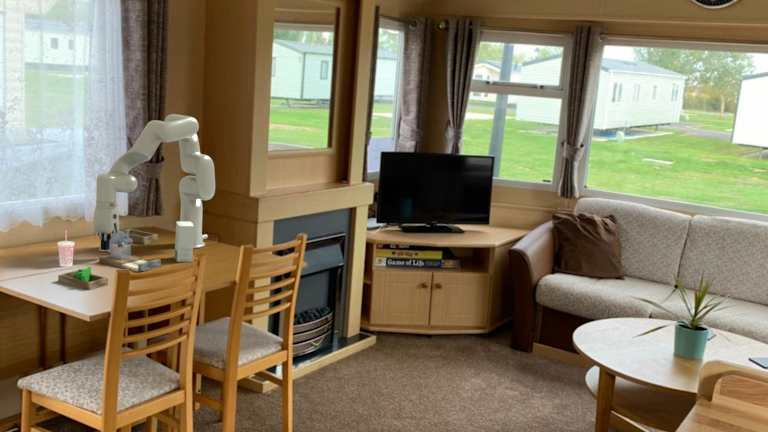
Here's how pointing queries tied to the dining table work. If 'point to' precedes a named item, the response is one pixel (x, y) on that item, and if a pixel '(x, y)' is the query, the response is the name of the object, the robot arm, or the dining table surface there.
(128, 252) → the clip block
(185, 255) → the skincare box
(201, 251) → the dining table surface
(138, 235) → the clip frame
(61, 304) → the dining table surface
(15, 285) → the dining table surface
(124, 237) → the hippopotamus toy
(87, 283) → the brown wooden tray
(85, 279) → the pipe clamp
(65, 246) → the beverage cup
